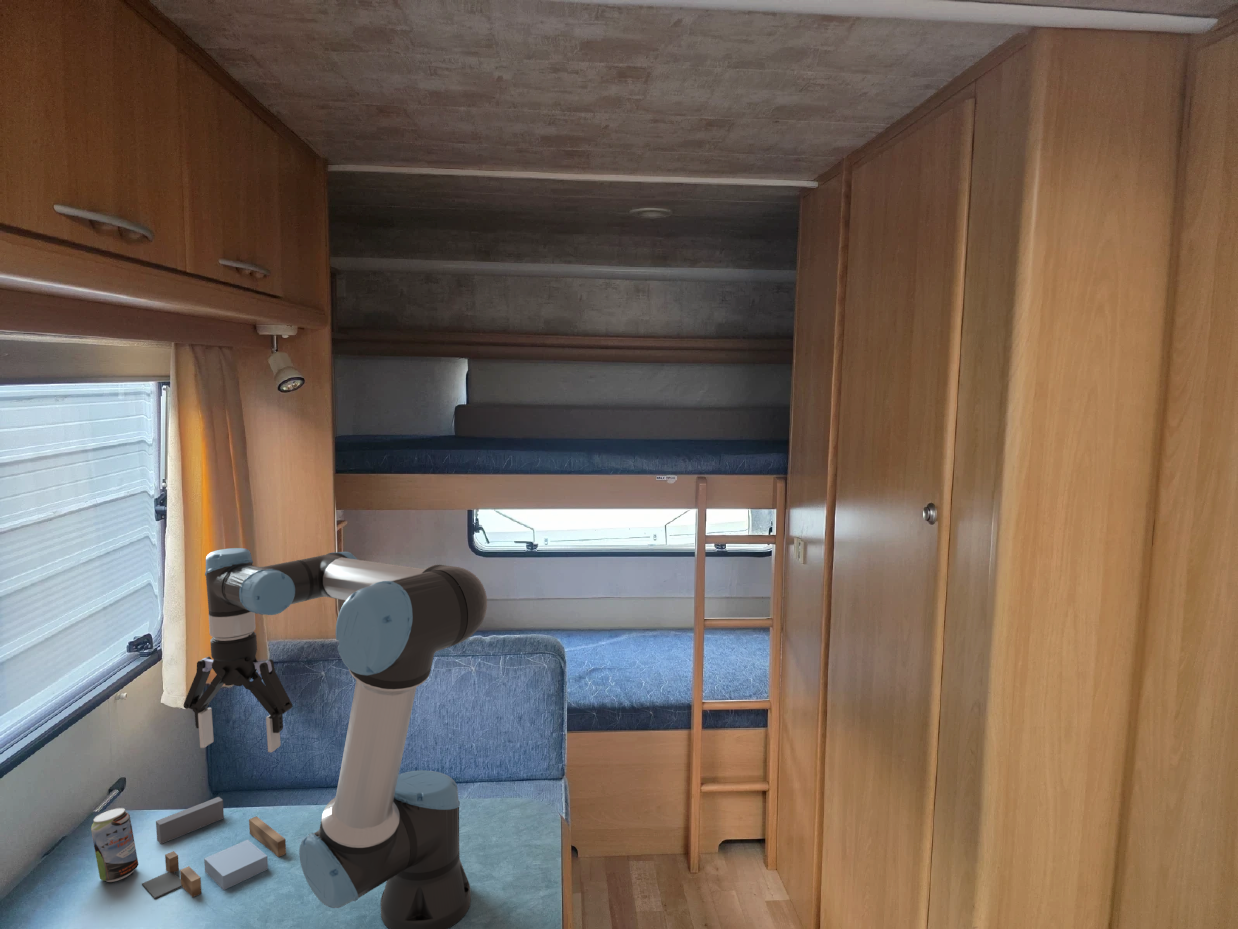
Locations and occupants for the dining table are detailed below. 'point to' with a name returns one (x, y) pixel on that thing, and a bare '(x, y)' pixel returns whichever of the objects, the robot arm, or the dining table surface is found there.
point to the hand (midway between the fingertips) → (240, 747)
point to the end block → (189, 820)
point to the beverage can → (114, 845)
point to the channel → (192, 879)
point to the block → (235, 864)
